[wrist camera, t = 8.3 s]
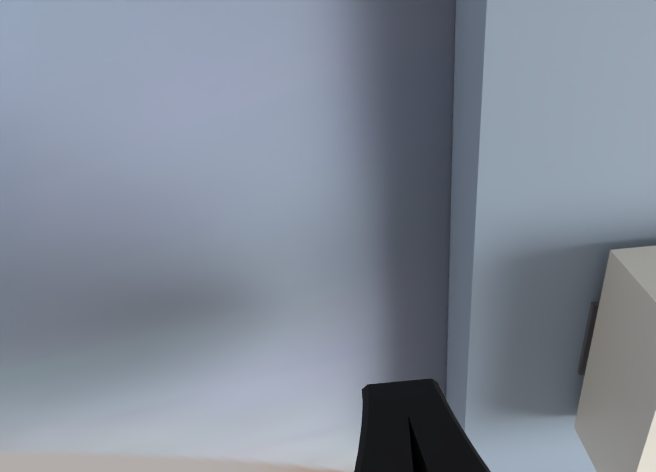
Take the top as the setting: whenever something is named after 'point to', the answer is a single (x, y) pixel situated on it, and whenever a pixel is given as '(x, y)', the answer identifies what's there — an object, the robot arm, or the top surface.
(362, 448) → the robot arm
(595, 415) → the knob
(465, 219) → the switch unit
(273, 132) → the top surface
